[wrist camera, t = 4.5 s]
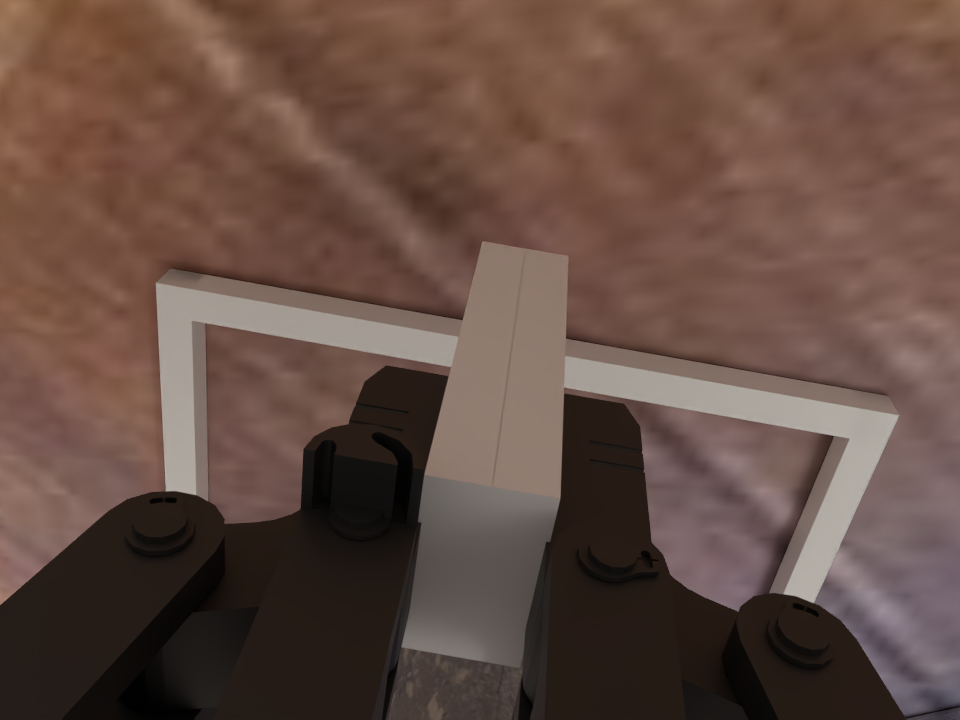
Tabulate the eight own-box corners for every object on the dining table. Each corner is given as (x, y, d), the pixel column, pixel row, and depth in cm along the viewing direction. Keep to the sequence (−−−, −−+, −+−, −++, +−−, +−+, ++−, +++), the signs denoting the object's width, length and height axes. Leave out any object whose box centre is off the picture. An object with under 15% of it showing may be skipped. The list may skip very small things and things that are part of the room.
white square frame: (170, 268, 21) (156, 283, 20) (889, 395, 20) (899, 415, 19) (186, 686, 28) (176, 708, 27) (715, 787, 27) (718, 812, 27)
